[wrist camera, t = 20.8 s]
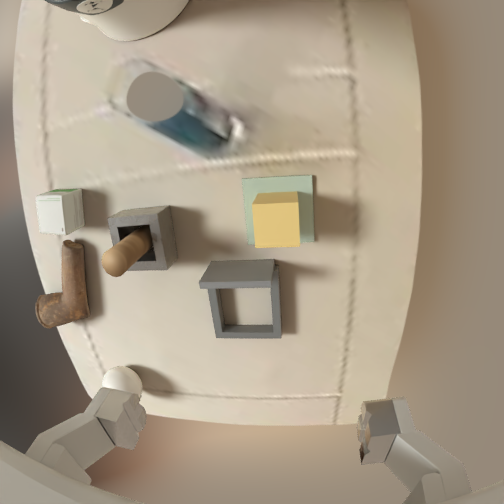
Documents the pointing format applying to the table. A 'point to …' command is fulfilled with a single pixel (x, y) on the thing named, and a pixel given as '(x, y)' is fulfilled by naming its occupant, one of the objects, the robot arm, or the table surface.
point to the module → (276, 219)
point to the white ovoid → (123, 380)
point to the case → (243, 277)
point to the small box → (60, 211)
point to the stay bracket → (160, 233)
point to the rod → (127, 251)
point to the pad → (282, 185)
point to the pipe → (66, 291)
